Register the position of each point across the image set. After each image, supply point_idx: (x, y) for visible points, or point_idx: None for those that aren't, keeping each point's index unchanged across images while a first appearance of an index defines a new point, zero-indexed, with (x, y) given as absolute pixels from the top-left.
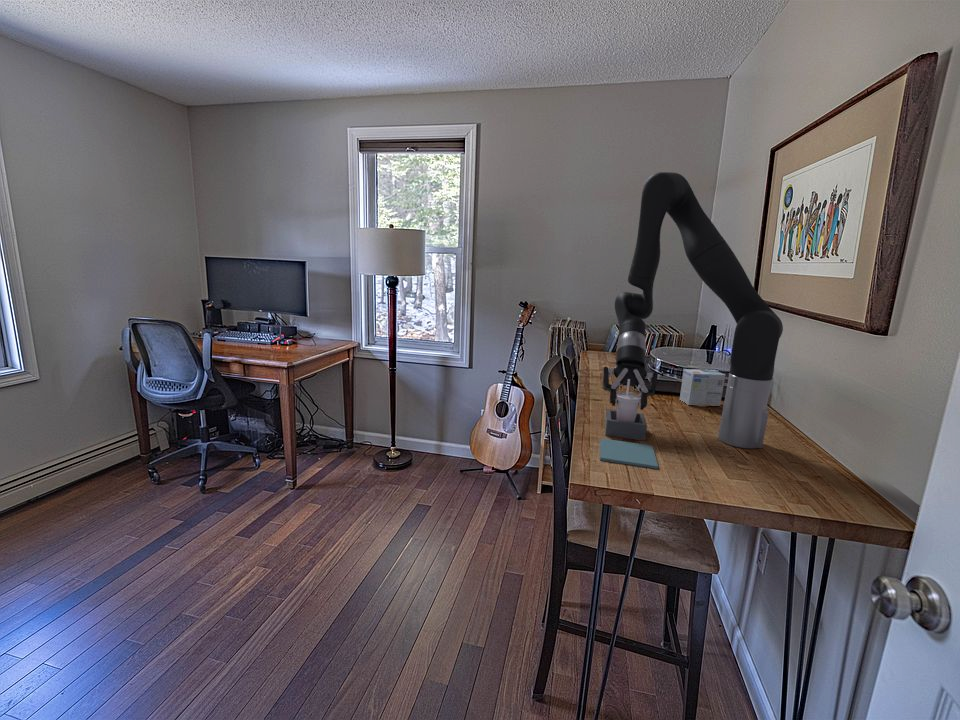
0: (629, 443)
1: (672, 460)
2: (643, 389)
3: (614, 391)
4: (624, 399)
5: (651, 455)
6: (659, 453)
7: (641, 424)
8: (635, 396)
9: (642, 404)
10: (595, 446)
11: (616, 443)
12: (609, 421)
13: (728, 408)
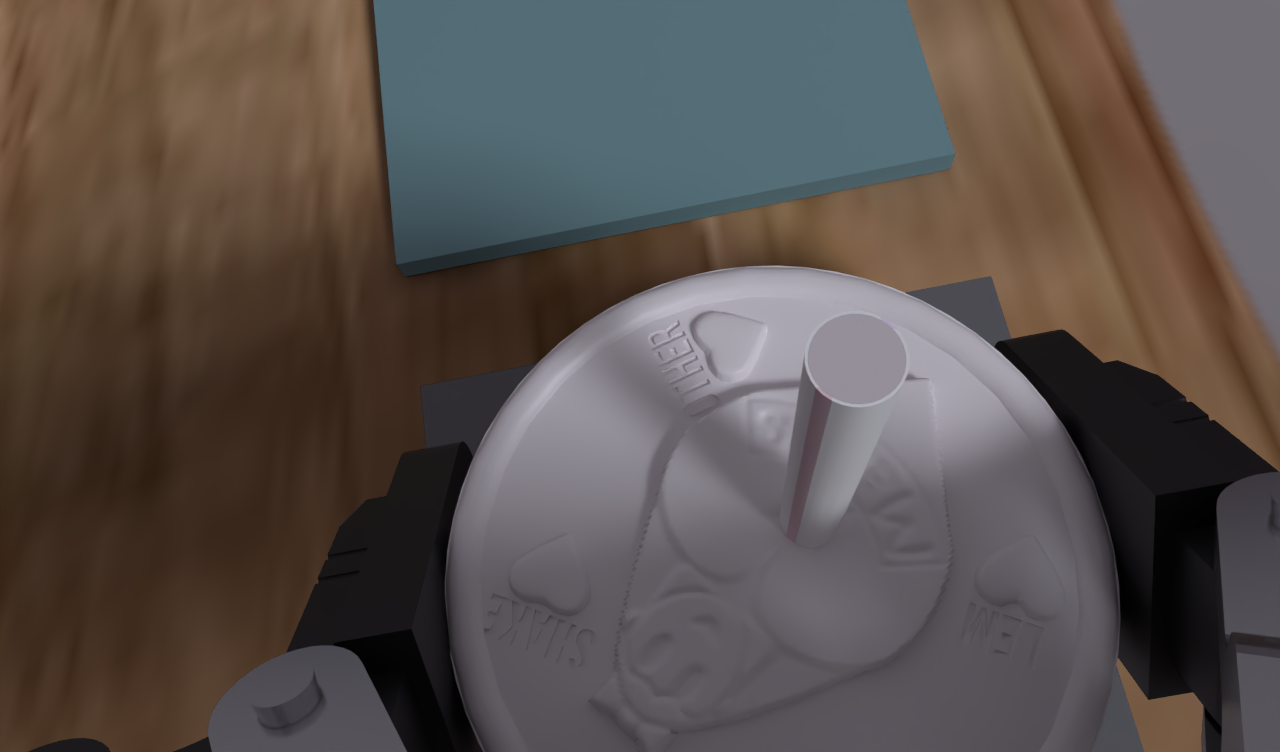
0: (631, 183)
1: (234, 91)
2: (342, 709)
3: (1176, 449)
4: (818, 297)
5: (409, 18)
6: (338, 181)
7: (497, 379)
8: (597, 621)
9: (440, 446)
10: (945, 3)
11: (759, 106)
12: (951, 292)
13: None
